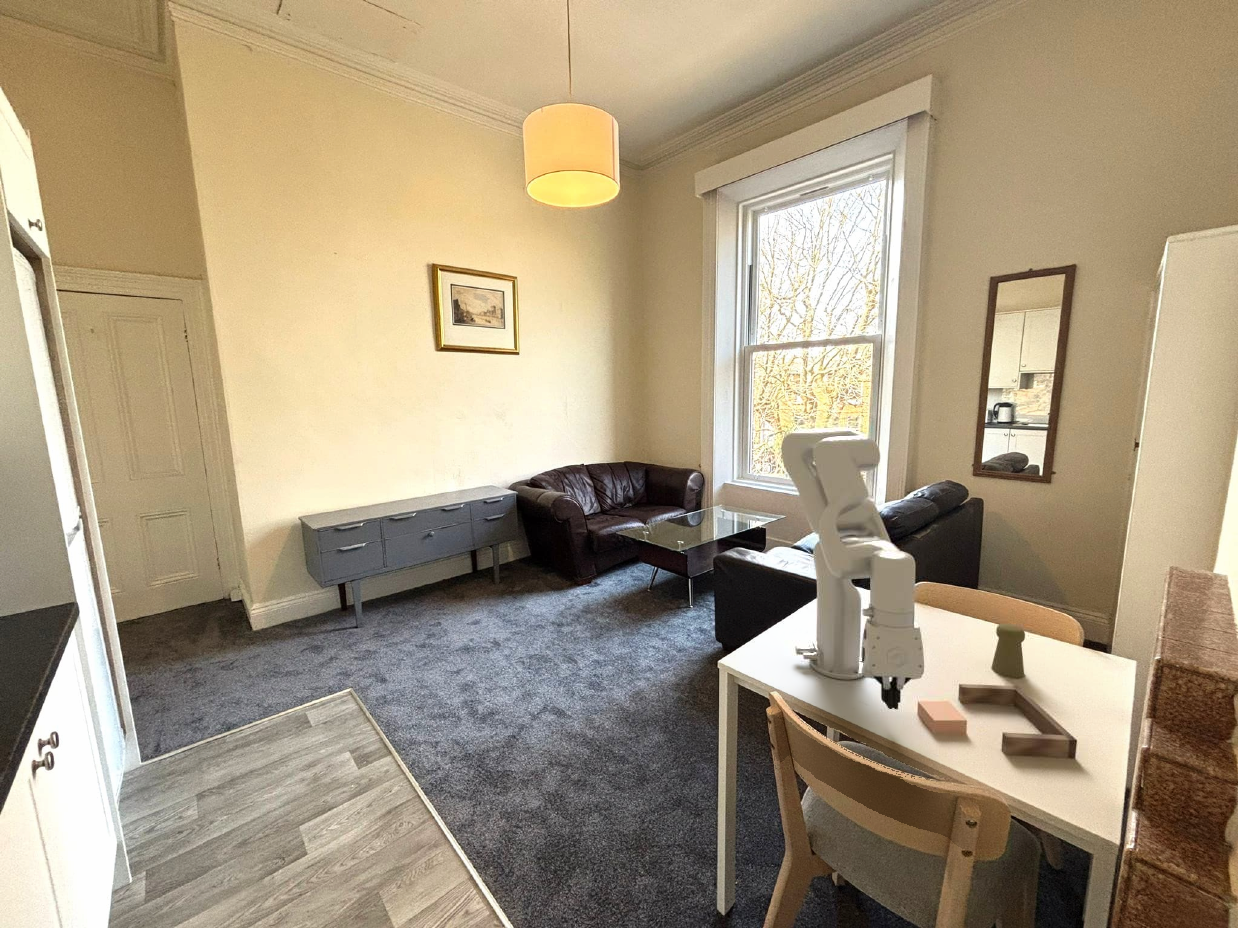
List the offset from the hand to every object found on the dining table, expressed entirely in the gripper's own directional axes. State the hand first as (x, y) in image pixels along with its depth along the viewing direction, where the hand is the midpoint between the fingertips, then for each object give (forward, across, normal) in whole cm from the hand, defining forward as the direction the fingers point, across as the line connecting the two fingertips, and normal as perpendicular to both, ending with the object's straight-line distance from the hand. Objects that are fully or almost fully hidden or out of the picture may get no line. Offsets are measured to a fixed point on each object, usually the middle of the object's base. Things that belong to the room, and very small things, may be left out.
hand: (890, 704), depth 100 cm
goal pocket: (+4, +22, +1) cm, 22 cm away
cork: (+4, +33, +21) cm, 39 cm away
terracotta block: (+4, +10, +1) cm, 11 cm away
